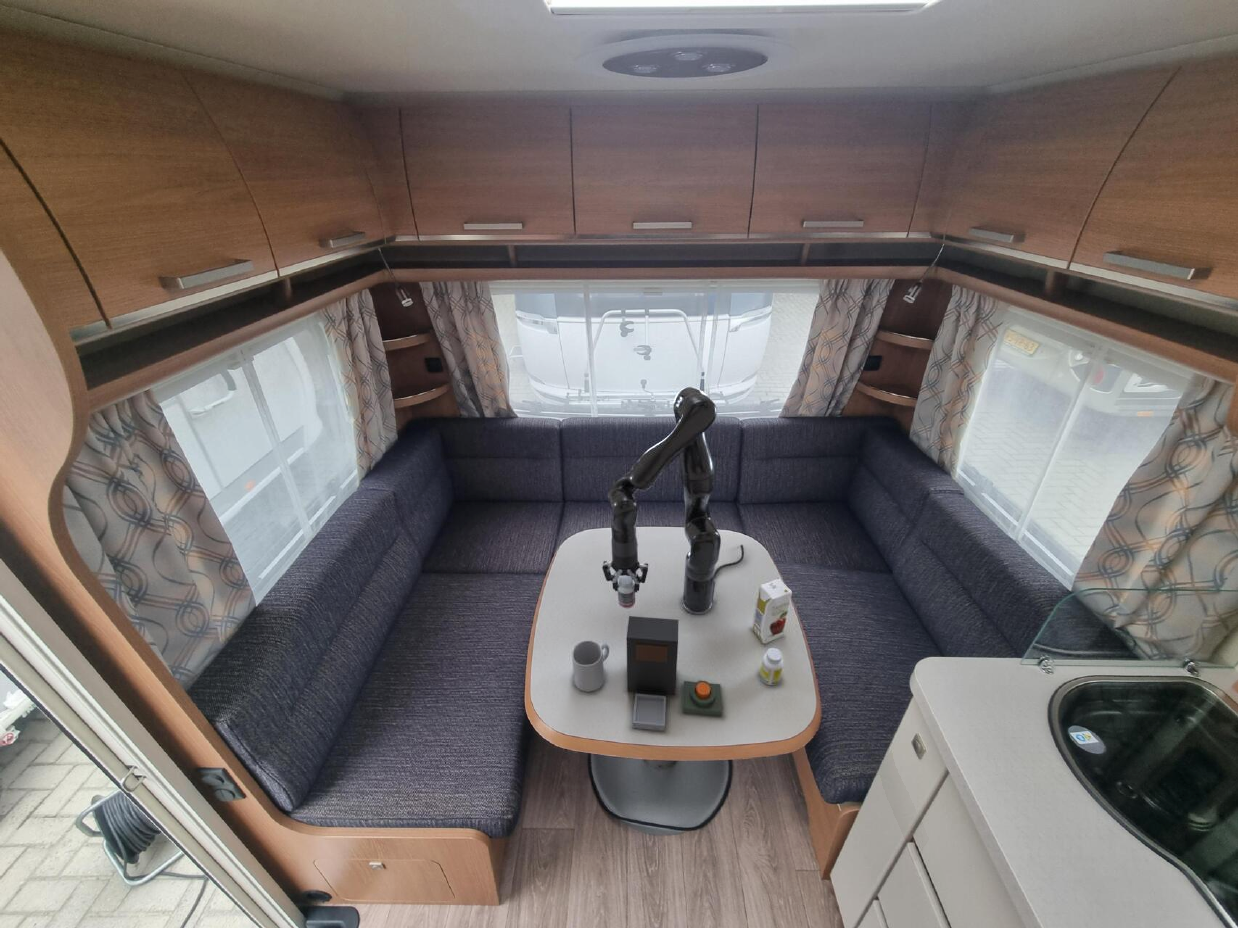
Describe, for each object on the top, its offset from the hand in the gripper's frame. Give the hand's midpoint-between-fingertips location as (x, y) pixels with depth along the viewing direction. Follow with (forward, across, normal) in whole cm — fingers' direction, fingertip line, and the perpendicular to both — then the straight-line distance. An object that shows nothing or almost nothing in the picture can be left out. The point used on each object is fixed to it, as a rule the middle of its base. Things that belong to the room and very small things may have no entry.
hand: (626, 589), depth 150 cm
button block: (+13, +23, -26) cm, 37 cm away
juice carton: (+14, +43, -2) cm, 45 cm away
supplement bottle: (+13, +42, -17) cm, 47 cm away
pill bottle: (+6, 0, 0) cm, 6 cm away
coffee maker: (+13, +9, -27) cm, 31 cm away
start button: (+9, +23, -26) cm, 36 cm away
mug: (+13, -8, -21) cm, 26 cm away
